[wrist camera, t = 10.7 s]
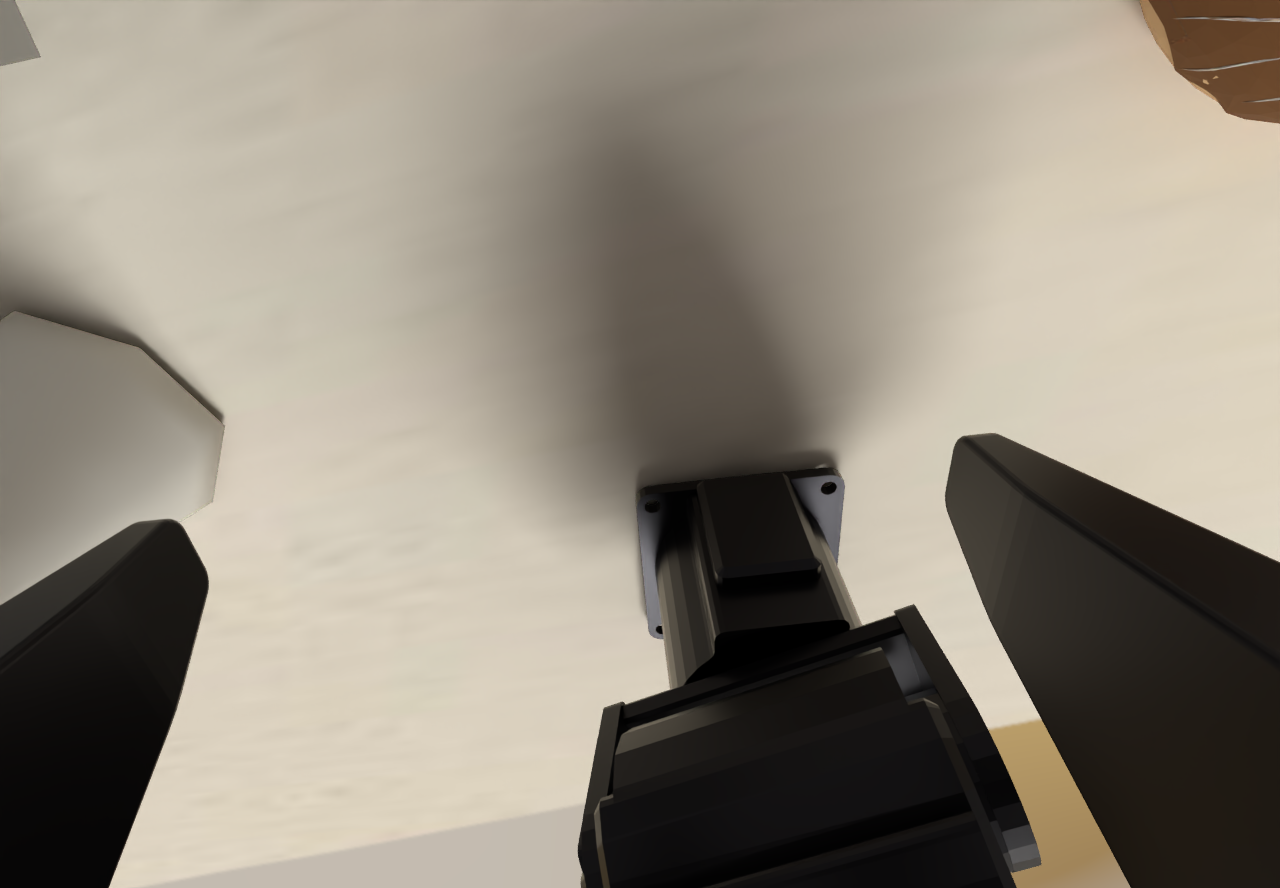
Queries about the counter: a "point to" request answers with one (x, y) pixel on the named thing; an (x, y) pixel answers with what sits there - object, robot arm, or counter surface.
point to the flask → (90, 446)
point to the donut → (1224, 50)
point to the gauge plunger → (14, 35)
